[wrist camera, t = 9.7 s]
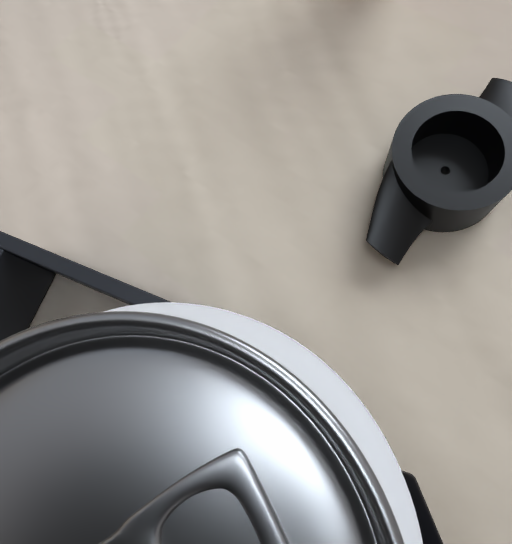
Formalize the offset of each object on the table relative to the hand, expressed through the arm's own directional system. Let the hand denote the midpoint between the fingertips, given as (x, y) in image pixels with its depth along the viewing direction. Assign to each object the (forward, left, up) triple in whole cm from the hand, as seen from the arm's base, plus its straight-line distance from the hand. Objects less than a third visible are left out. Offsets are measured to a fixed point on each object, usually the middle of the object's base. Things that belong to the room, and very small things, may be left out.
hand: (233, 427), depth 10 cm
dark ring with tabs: (+14, -3, -13) cm, 19 cm away
